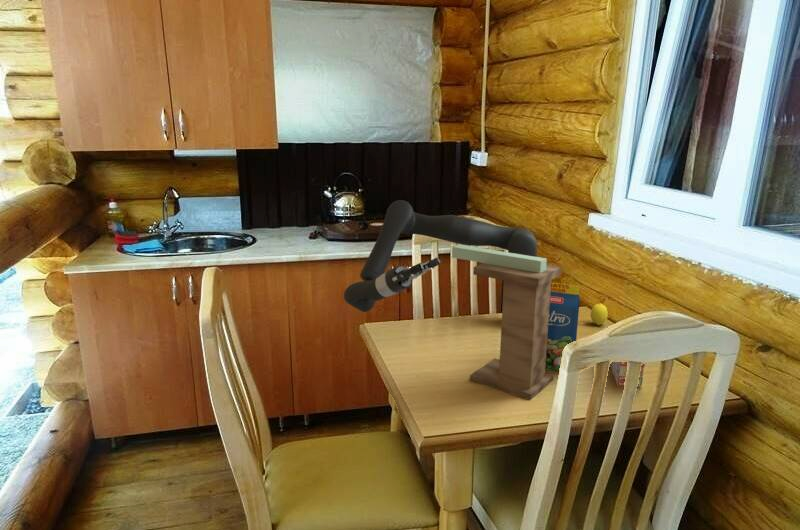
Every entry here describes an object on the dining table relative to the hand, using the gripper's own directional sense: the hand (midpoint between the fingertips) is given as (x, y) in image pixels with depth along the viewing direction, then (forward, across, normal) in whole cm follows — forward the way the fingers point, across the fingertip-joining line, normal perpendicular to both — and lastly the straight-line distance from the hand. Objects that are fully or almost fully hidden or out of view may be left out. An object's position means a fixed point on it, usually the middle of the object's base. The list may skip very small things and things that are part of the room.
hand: (430, 263), depth 164 cm
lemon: (+13, +56, +40) cm, 71 cm away
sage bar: (+21, -1, +8) cm, 22 cm away
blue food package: (+14, +15, +41) cm, 46 cm away
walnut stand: (+10, -1, +39) cm, 40 cm away
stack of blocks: (+29, +25, +50) cm, 63 cm away
